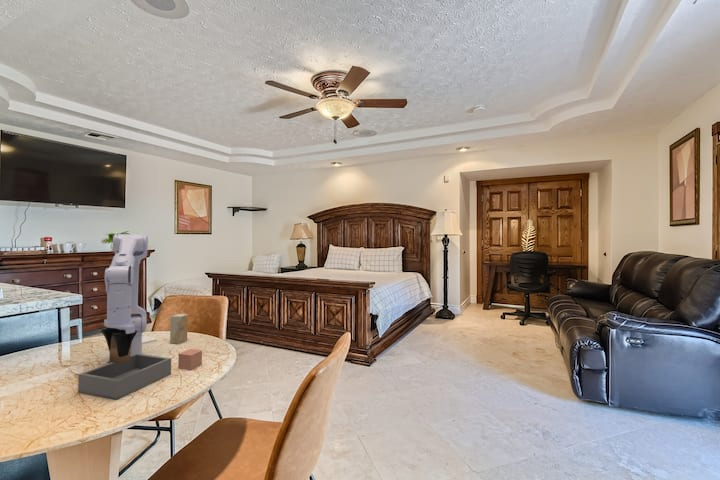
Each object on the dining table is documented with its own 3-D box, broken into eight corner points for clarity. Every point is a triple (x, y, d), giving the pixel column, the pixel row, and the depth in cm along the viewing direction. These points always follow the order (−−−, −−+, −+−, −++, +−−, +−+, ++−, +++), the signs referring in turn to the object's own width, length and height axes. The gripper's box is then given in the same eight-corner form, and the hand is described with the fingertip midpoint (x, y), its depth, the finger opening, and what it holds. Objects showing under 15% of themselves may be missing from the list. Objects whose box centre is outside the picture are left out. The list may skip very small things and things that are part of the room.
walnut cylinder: (105, 360, 99) (108, 335, 99) (124, 356, 103) (127, 332, 103) (114, 363, 96) (116, 338, 97) (133, 359, 100) (135, 335, 101)
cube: (178, 368, 114) (178, 353, 114) (189, 363, 118) (189, 349, 118) (190, 370, 112) (190, 355, 112) (201, 365, 117) (202, 350, 117)
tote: (78, 392, 96) (78, 374, 95) (136, 368, 113) (136, 353, 113) (116, 399, 92) (116, 381, 92) (171, 374, 109) (171, 358, 109)
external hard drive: (156, 342, 142) (123, 350, 131) (146, 339, 146) (113, 346, 136) (157, 338, 142) (123, 346, 131) (146, 335, 146) (113, 342, 136)
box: (178, 344, 138) (179, 316, 138) (169, 343, 139) (169, 316, 139) (187, 340, 143) (188, 314, 143) (178, 339, 144) (179, 313, 144)
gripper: (146, 308, 99) (146, 355, 99) (123, 302, 107) (122, 345, 107) (118, 312, 93) (118, 362, 93) (96, 305, 101) (95, 352, 101)
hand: (118, 354), depth 99 cm, fingers closed on walnut cylinder, 5 cm apart
